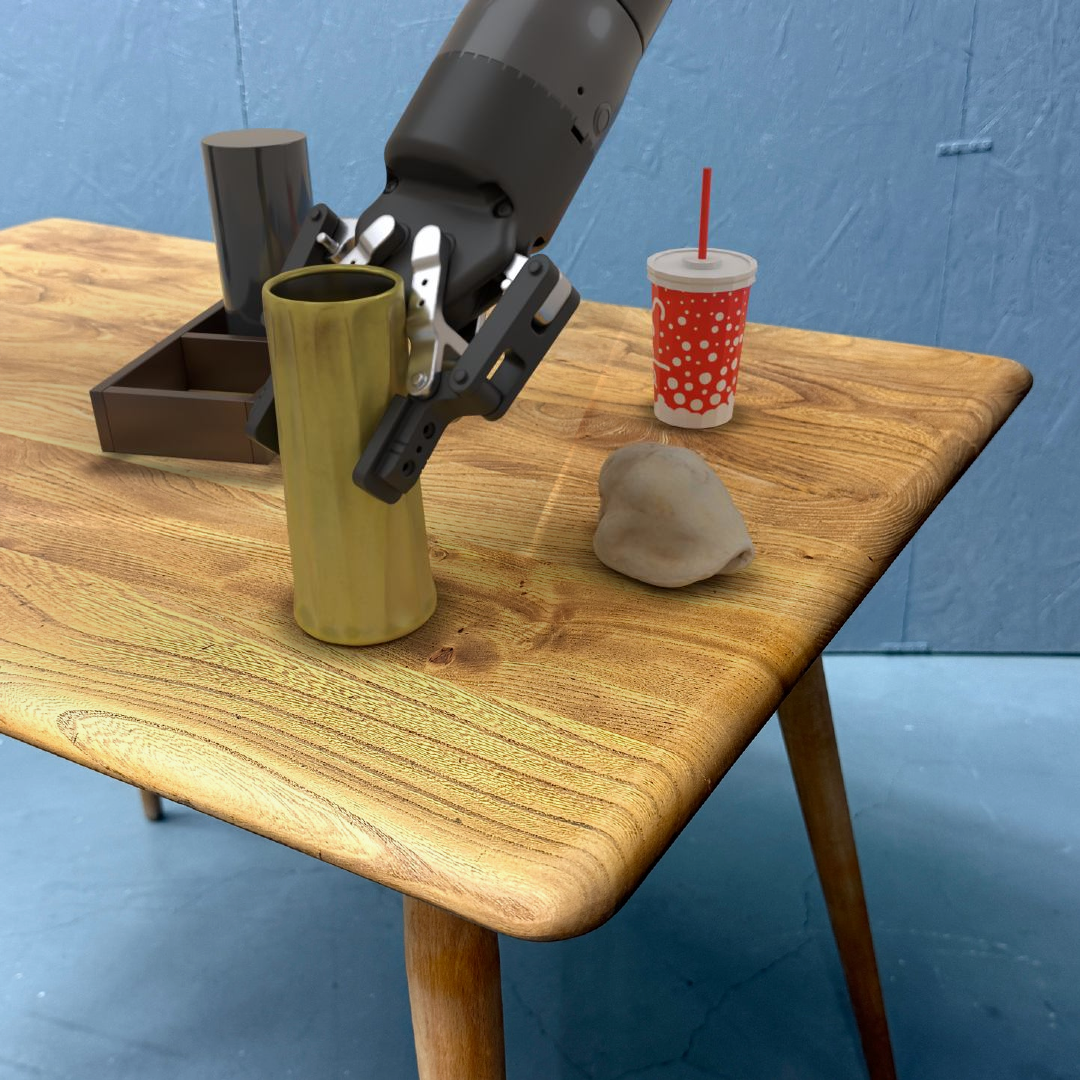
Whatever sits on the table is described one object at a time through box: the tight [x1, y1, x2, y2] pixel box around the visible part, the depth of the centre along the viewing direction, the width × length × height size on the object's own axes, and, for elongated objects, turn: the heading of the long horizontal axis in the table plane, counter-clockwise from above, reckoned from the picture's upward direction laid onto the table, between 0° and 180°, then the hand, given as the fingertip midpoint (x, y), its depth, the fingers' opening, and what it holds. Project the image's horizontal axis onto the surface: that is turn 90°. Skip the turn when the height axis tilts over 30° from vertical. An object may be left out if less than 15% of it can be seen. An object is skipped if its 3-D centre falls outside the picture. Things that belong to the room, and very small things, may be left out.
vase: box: [262, 264, 438, 647], centre depth 46 cm, size 6×6×14 cm
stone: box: [592, 440, 756, 588], centre depth 53 cm, size 7×6×8 cm
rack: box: [88, 297, 279, 466], centre depth 69 cm, size 10×18×4 cm, turn 169°
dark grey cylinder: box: [199, 127, 315, 337], centre depth 70 cm, size 6×6×14 cm
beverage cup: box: [646, 166, 758, 429], centre depth 65 cm, size 6×6×14 cm
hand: (317, 468), depth 45 cm, fingers open, 6 cm apart
